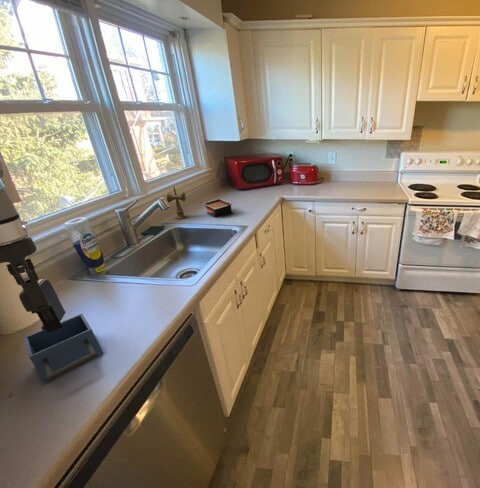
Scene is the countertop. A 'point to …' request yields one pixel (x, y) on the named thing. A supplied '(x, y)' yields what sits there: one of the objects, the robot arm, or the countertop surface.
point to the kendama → (177, 202)
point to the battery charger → (50, 297)
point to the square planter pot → (218, 207)
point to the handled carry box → (62, 348)
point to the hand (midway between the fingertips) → (52, 322)
